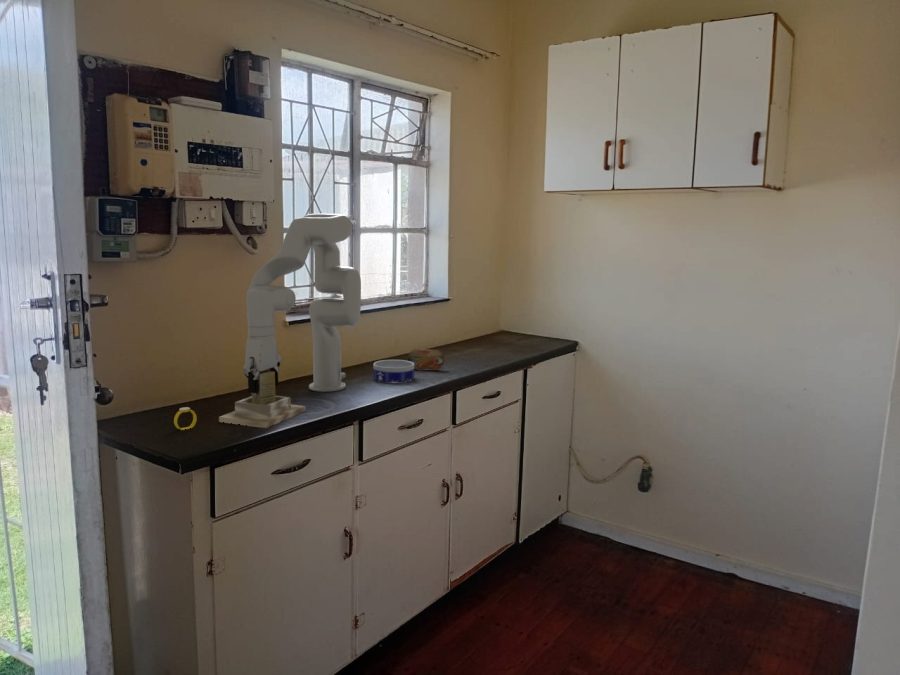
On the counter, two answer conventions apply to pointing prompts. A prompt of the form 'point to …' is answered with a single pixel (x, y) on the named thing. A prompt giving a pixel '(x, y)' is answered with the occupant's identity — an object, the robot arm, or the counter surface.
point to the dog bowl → (393, 371)
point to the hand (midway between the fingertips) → (263, 388)
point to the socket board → (262, 412)
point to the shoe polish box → (265, 388)
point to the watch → (185, 409)
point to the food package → (426, 359)
